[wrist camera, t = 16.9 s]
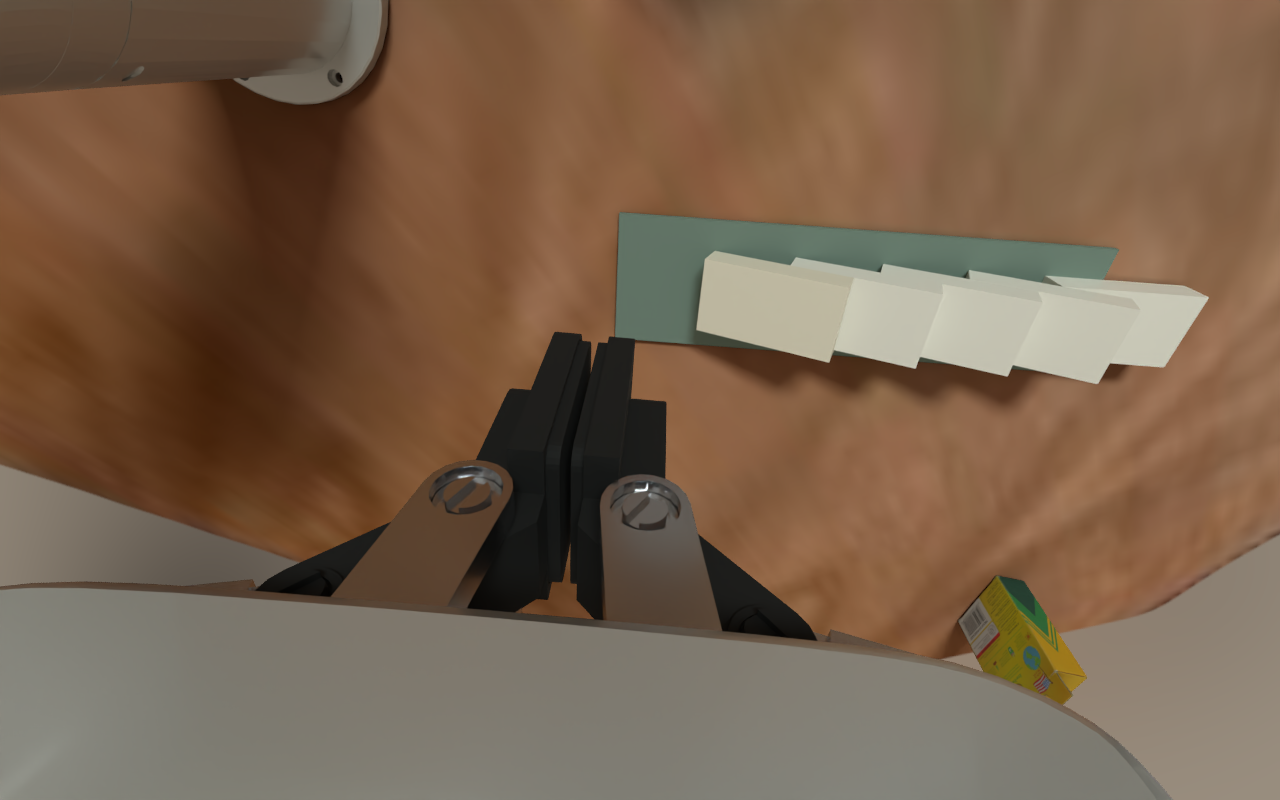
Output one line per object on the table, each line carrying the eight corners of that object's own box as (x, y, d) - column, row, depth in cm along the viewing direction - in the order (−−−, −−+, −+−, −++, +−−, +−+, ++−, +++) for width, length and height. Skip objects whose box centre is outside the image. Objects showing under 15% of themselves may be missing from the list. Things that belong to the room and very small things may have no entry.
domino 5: (1028, 357, 38) (1164, 367, 37) (1062, 286, 35) (1209, 297, 35) (1013, 343, 39) (1143, 353, 39) (1045, 275, 37) (1184, 285, 36)
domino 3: (859, 343, 38) (1007, 376, 35) (880, 272, 35) (1042, 302, 32) (862, 332, 39) (1004, 363, 37) (883, 263, 37) (1038, 291, 34)
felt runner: (615, 335, 41) (615, 338, 41) (619, 212, 36) (619, 213, 36) (1051, 369, 41) (1054, 372, 40) (1114, 247, 36) (1118, 249, 35)
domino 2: (775, 336, 38) (915, 368, 35) (789, 265, 35) (943, 294, 32) (781, 325, 40) (916, 355, 37) (795, 257, 37) (942, 283, 34)
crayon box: (983, 626, 56) (1047, 749, 46) (955, 621, 56) (1014, 742, 46) (1026, 579, 52) (1105, 702, 42) (996, 573, 52) (1070, 695, 42)
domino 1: (696, 329, 38) (829, 362, 35) (704, 258, 35) (849, 287, 32) (706, 319, 40) (834, 350, 37) (714, 250, 37) (854, 277, 34)
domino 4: (942, 349, 38) (1097, 384, 35) (969, 278, 35) (1141, 310, 32) (942, 338, 39) (1091, 370, 36) (968, 269, 37) (1132, 299, 34)
